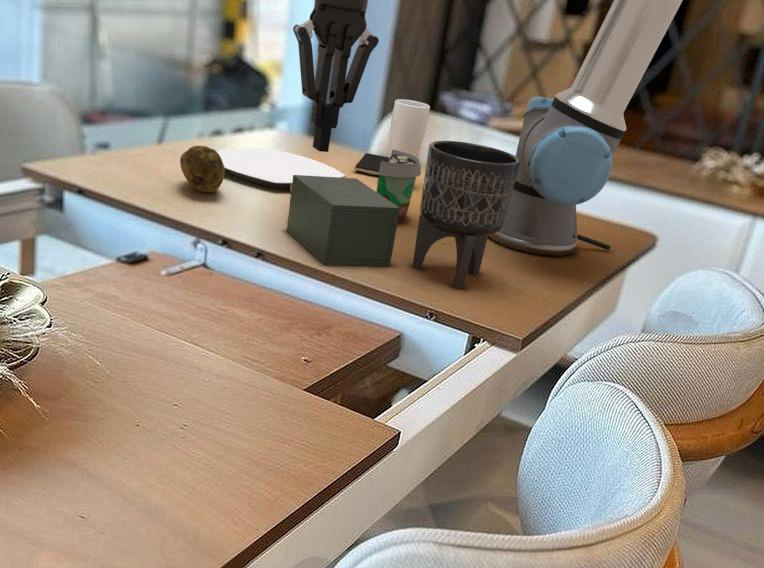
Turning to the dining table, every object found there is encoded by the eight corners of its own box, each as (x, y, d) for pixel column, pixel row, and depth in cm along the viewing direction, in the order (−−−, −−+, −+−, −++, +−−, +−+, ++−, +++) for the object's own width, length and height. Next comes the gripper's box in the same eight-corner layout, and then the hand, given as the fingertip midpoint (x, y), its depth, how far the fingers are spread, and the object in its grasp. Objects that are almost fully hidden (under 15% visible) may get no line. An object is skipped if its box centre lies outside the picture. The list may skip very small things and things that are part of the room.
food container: (406, 230, 167) (417, 169, 162) (370, 223, 168) (380, 161, 163) (416, 214, 178) (427, 155, 173) (382, 207, 179) (392, 148, 173)
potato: (233, 188, 174) (237, 140, 170) (216, 205, 163) (221, 154, 159) (186, 179, 174) (189, 131, 170) (166, 196, 163) (169, 145, 159)
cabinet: (286, 231, 156) (293, 174, 152) (348, 233, 161) (356, 178, 156) (324, 265, 145) (332, 204, 140) (390, 266, 149) (400, 207, 145)
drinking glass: (422, 189, 195) (437, 108, 187) (394, 190, 191) (409, 106, 184) (401, 180, 199) (415, 99, 192) (374, 180, 196) (387, 98, 188)
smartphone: (400, 159, 210) (391, 173, 197) (399, 164, 211) (390, 179, 198) (365, 152, 211) (354, 166, 198) (364, 158, 211) (354, 172, 198)
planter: (395, 275, 146) (417, 148, 137) (420, 255, 156) (443, 136, 147) (481, 297, 143) (510, 169, 134) (500, 275, 154) (529, 155, 145)
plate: (360, 187, 189) (362, 177, 188) (273, 197, 173) (274, 186, 172) (274, 156, 200) (275, 145, 199) (184, 162, 184) (185, 151, 183)
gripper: (374, -20, 148) (349, 146, 160) (292, -33, 143) (272, 140, 155) (396, -14, 142) (368, 158, 154) (311, -27, 137) (289, 152, 149)
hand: (320, 149), depth 155 cm, fingers closed
